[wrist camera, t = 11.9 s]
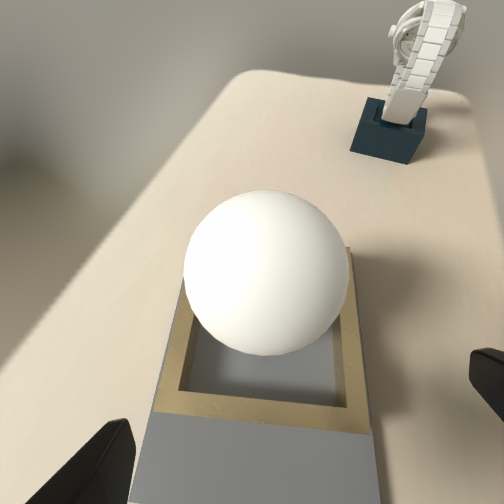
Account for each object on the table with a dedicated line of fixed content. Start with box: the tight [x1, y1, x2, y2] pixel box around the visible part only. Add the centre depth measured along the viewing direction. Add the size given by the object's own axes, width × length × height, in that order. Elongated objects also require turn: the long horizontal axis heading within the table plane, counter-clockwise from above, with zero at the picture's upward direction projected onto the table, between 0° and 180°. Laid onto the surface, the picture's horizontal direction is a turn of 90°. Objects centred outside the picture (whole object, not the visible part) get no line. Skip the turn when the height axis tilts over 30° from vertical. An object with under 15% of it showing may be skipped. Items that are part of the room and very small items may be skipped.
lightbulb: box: [184, 190, 349, 356], centre depth 13 cm, size 6×6×11 cm
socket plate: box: [128, 247, 381, 504], centre depth 16 cm, size 15×12×3 cm
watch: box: [350, 0, 467, 165], centre depth 23 cm, size 6×8×11 cm
